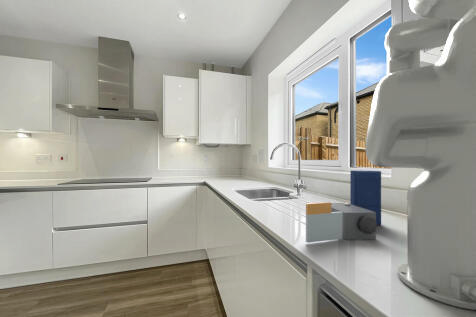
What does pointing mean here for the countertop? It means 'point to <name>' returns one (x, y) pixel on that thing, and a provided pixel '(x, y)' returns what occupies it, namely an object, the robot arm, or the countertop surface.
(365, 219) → the camera case
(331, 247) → the countertop surface
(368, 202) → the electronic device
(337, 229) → the side door
